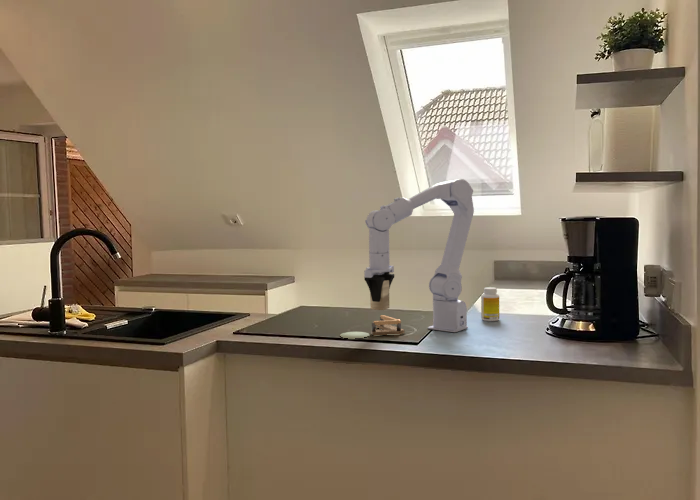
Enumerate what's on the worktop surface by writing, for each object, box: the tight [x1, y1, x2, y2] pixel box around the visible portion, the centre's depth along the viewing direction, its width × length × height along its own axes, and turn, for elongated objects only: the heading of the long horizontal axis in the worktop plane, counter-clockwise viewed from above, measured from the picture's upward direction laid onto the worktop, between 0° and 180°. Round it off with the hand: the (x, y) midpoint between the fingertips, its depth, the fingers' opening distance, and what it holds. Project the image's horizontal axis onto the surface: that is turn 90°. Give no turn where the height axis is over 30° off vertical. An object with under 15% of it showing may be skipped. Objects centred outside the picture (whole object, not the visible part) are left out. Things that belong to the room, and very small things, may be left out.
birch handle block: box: [369, 280, 390, 311], centre depth 166 cm, size 4×4×8 cm
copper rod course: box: [370, 314, 405, 336], centre depth 170 cm, size 12×12×4 cm
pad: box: [339, 331, 370, 340], centre depth 166 cm, size 8×8×1 cm
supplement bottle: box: [480, 286, 500, 322], centre depth 185 cm, size 6×6×10 cm
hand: (379, 300), depth 166 cm, fingers closed on birch handle block, 4 cm apart
